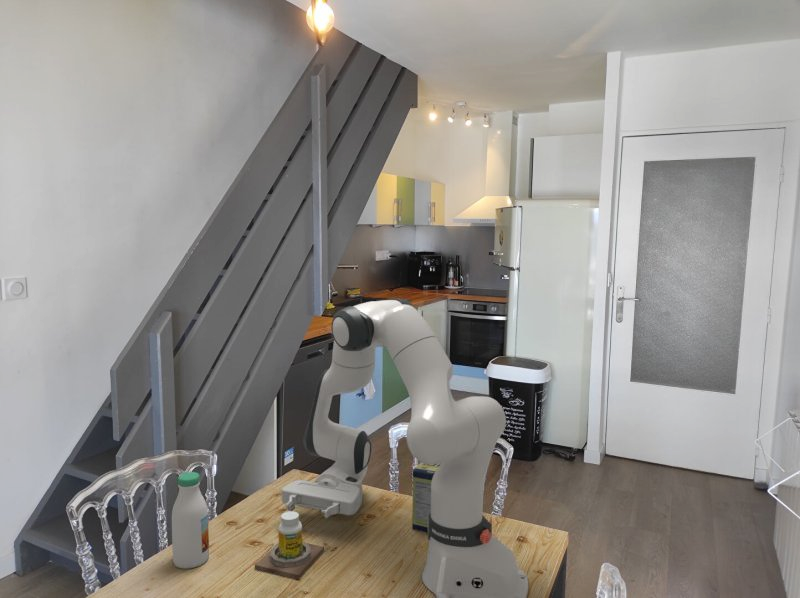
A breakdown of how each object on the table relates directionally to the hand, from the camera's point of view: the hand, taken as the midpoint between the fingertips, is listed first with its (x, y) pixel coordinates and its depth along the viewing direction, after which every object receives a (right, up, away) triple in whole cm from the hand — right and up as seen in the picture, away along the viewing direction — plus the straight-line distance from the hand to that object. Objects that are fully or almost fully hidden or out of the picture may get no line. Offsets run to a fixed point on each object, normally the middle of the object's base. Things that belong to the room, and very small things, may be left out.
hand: (305, 511), depth 136 cm
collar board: (-2, -9, -6) cm, 11 cm away
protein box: (+33, -7, +13) cm, 36 cm away
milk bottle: (-25, -9, -7) cm, 27 cm away
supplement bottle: (-2, -8, -6) cm, 10 cm away
